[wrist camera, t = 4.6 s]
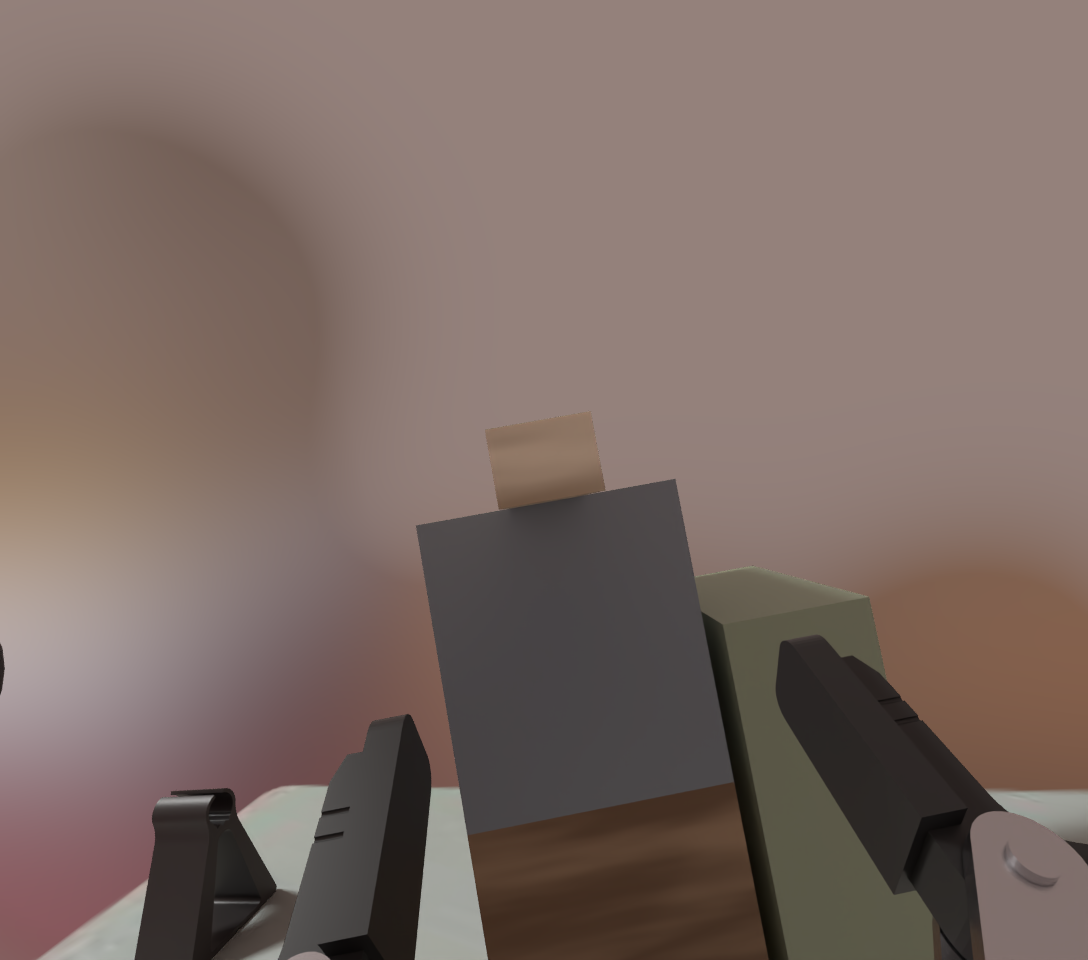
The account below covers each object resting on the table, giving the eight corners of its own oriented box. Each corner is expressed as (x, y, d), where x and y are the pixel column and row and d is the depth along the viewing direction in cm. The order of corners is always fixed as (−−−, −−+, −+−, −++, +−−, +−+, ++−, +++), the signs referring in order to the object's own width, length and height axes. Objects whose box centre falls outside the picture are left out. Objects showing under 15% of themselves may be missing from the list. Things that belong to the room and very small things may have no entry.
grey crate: (734, 781, 26) (675, 479, 26) (467, 835, 25) (416, 525, 26) (663, 684, 40) (626, 488, 40) (491, 718, 39) (457, 519, 40)
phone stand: (227, 889, 49) (210, 767, 50) (277, 889, 48) (259, 764, 48) (132, 977, 40) (113, 827, 41) (190, 981, 39) (169, 826, 39)
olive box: (969, 1067, 25) (869, 596, 26) (816, 1100, 25) (722, 624, 26) (812, 866, 39) (752, 565, 40) (714, 886, 39) (656, 583, 40)
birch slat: (605, 490, 18) (590, 411, 18) (498, 509, 18) (484, 429, 18) (568, 499, 38) (561, 461, 38) (517, 508, 38) (510, 470, 38)
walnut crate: (797, 1104, 25) (734, 781, 26) (522, 1165, 24) (467, 835, 25) (702, 889, 39) (663, 684, 40) (526, 925, 38) (491, 718, 39)
